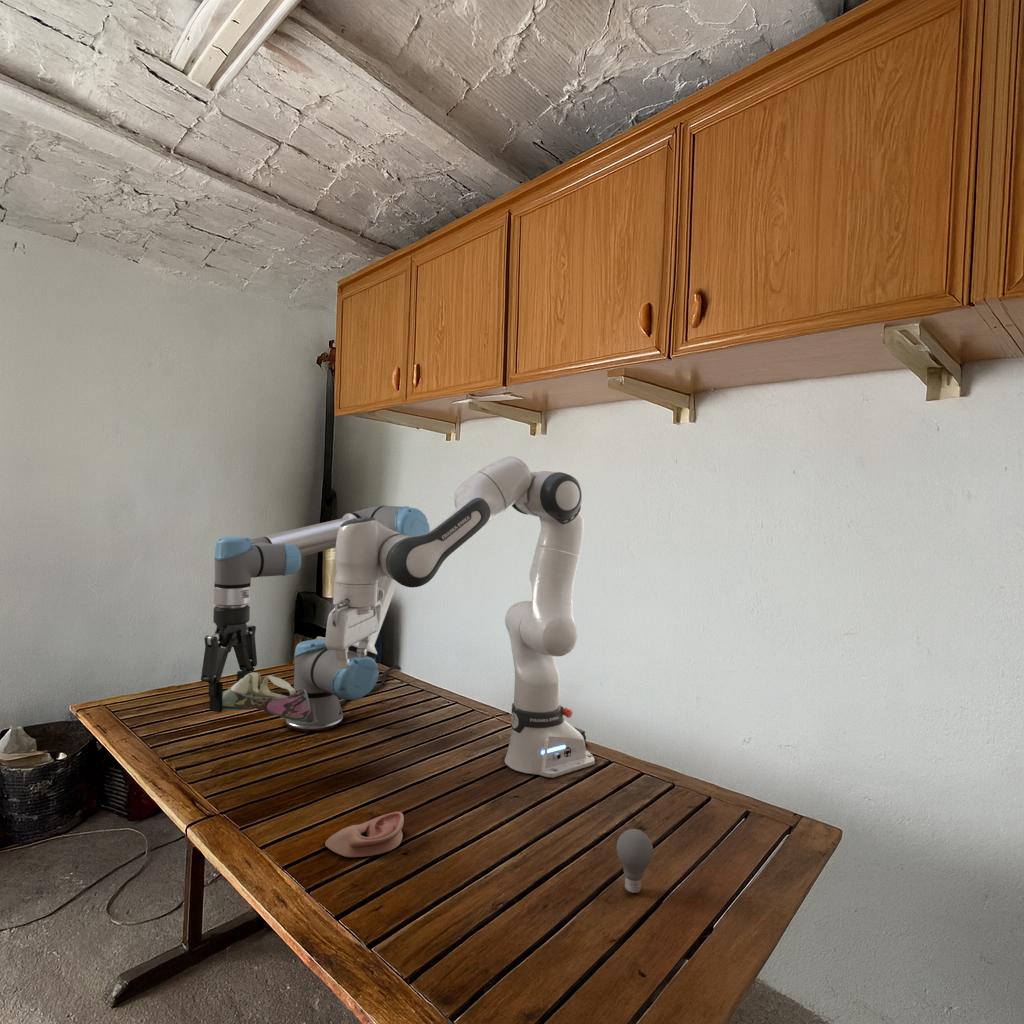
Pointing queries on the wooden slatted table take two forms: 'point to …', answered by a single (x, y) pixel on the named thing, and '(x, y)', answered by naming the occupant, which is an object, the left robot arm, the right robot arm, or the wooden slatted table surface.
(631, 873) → the light bulb
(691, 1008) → the wooden slatted table surface
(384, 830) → the anatomical model
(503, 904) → the wooden slatted table surface
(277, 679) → the ballet flat
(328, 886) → the wooden slatted table surface
